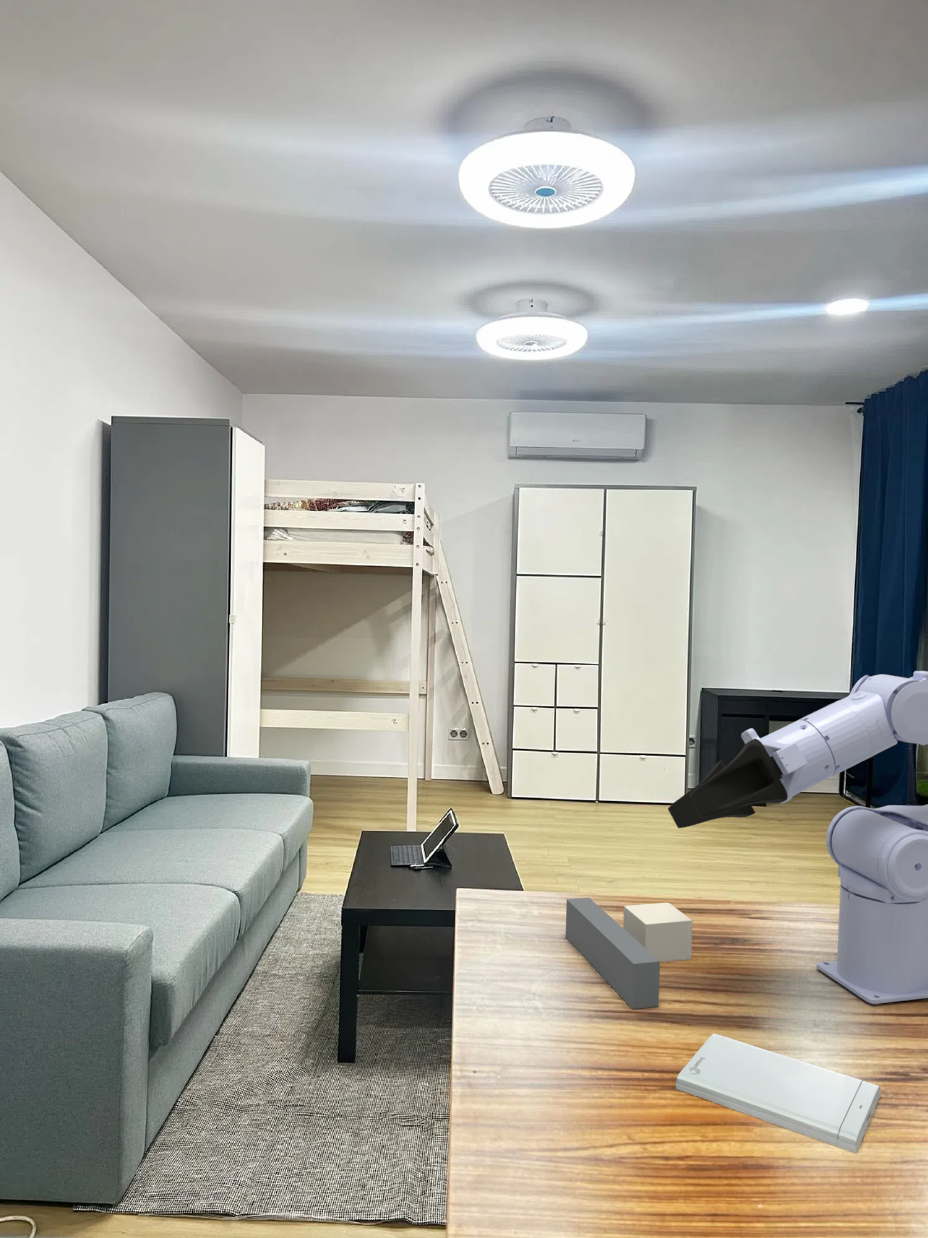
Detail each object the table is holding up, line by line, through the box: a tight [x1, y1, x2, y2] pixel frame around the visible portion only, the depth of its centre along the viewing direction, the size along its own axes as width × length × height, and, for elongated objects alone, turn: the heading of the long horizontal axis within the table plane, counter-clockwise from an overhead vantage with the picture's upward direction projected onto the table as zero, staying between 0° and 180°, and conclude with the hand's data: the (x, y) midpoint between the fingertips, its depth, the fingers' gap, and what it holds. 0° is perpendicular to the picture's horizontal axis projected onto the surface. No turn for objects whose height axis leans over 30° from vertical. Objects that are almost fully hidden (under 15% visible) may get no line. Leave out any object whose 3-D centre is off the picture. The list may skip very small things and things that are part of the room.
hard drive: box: [675, 1032, 881, 1154], centre depth 66 cm, size 2×8×12 cm
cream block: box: [622, 902, 693, 963], centre depth 91 cm, size 5×5×4 cm
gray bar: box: [565, 897, 661, 1010], centre depth 86 cm, size 2×16×4 cm, turn 15°
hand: (683, 812), depth 80 cm, fingers open, 7 cm apart
